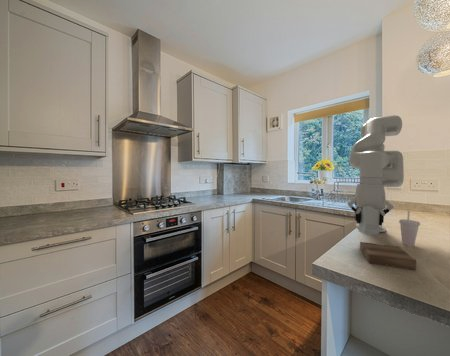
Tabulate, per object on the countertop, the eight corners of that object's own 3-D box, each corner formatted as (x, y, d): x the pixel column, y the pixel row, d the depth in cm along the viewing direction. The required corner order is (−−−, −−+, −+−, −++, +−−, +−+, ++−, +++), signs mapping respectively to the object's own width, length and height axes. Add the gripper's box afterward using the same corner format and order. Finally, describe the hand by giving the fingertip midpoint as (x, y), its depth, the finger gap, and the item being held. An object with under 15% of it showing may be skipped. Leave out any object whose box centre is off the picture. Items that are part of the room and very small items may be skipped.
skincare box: (371, 231, 88) (373, 203, 87) (379, 234, 84) (380, 205, 83) (357, 231, 88) (358, 203, 87) (364, 234, 84) (365, 205, 83)
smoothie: (408, 241, 87) (410, 209, 86) (423, 247, 81) (425, 212, 80) (393, 241, 87) (395, 209, 86) (407, 247, 81) (409, 212, 80)
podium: (359, 249, 78) (360, 241, 78) (398, 254, 74) (399, 246, 74) (369, 263, 67) (369, 254, 67) (415, 270, 63) (416, 260, 62)
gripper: (392, 181, 85) (390, 223, 86) (344, 180, 91) (343, 219, 92) (400, 182, 78) (398, 228, 79) (348, 181, 84) (346, 223, 85)
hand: (368, 223), depth 86 cm, fingers closed on skincare box, 7 cm apart
